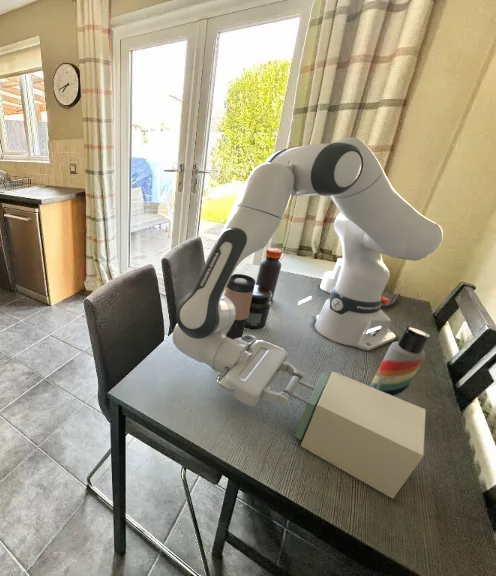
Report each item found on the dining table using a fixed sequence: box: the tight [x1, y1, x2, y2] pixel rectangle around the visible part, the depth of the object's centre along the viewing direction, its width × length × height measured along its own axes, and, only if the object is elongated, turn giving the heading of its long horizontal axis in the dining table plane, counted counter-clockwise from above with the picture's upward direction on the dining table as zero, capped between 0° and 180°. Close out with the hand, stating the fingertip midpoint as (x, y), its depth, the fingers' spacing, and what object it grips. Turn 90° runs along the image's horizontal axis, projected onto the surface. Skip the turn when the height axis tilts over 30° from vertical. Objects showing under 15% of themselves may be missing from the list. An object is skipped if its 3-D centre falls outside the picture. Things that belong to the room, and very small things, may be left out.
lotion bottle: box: [369, 326, 430, 400], centre depth 68 cm, size 6×6×20 cm
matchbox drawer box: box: [300, 371, 427, 500], centre depth 59 cm, size 15×13×12 cm
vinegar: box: [255, 247, 283, 303], centre depth 113 cm, size 7×7×20 cm
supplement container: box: [245, 284, 272, 331], centre depth 100 cm, size 10×10×12 cm
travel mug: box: [223, 273, 256, 340], centre depth 91 cm, size 8×8×20 cm
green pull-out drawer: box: [282, 372, 330, 441], centre depth 62 cm, size 18×11×10 cm, turn 46°
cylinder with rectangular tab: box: [319, 257, 342, 294], centre depth 122 cm, size 9×9×12 cm
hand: (295, 388), depth 65 cm, fingers open, 8 cm apart
